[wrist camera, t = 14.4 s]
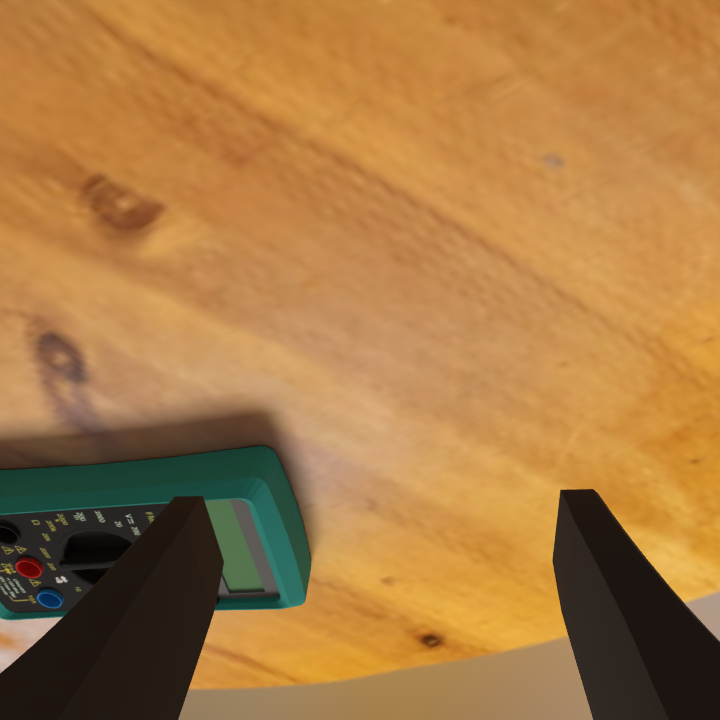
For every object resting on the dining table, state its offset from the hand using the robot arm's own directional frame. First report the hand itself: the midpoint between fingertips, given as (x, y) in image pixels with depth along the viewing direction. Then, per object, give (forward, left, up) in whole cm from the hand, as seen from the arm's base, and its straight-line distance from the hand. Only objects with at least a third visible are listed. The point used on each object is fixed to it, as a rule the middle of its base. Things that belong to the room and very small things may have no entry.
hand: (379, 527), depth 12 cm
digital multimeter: (+12, +10, -10) cm, 19 cm away
